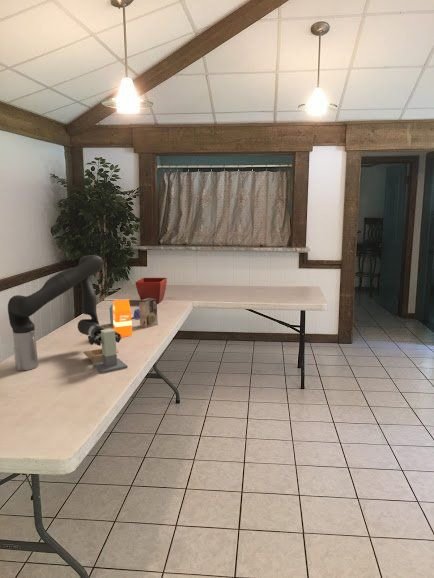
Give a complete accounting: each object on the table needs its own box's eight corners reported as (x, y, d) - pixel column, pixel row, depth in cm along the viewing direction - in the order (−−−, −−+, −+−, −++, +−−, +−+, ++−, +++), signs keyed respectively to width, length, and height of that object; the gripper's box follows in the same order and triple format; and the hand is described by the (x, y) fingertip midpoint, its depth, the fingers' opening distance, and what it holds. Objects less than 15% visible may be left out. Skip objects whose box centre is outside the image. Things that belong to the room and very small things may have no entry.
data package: (131, 322, 285) (130, 303, 282) (130, 324, 280) (129, 305, 278) (111, 323, 283) (110, 304, 281) (110, 325, 279) (109, 306, 277)
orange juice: (114, 333, 261) (111, 299, 257) (129, 332, 264) (127, 298, 260) (116, 337, 254) (114, 302, 250) (132, 335, 257) (130, 300, 253)
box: (106, 367, 205) (104, 332, 202) (102, 363, 209) (100, 330, 206) (117, 364, 208) (115, 330, 205) (113, 361, 212) (111, 328, 209)
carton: (89, 364, 212) (88, 357, 211) (83, 358, 220) (82, 351, 219) (119, 358, 219) (119, 351, 218) (112, 353, 227) (112, 346, 227)
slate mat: (101, 373, 200) (101, 371, 200) (93, 365, 210) (93, 363, 210) (127, 367, 207) (127, 365, 206) (118, 360, 217) (118, 358, 216)
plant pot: (135, 304, 336) (134, 281, 333) (144, 298, 354) (143, 277, 351) (161, 304, 333) (160, 282, 329) (168, 299, 351) (167, 277, 348)
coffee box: (150, 323, 283) (149, 297, 280) (158, 324, 279) (157, 298, 276) (139, 326, 276) (138, 300, 273) (146, 327, 272) (145, 301, 269)
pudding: (129, 316, 302) (128, 308, 301) (147, 314, 306) (146, 306, 305) (131, 320, 291) (131, 312, 290) (150, 318, 295) (149, 310, 294)
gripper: (82, 328, 215) (93, 336, 201) (112, 323, 222) (124, 331, 208) (84, 343, 216) (94, 352, 202) (113, 338, 223) (125, 347, 210)
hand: (109, 342), depth 205 cm, fingers open, 8 cm apart
